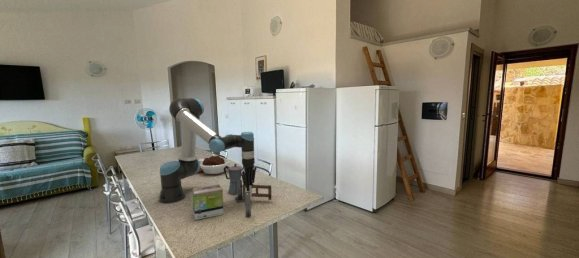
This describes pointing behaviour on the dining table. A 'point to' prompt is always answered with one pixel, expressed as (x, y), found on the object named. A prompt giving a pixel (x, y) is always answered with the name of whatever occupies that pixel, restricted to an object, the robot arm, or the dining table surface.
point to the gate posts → (246, 200)
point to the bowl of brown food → (214, 165)
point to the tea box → (207, 201)
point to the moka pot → (233, 177)
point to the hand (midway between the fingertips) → (249, 195)
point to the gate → (257, 191)
